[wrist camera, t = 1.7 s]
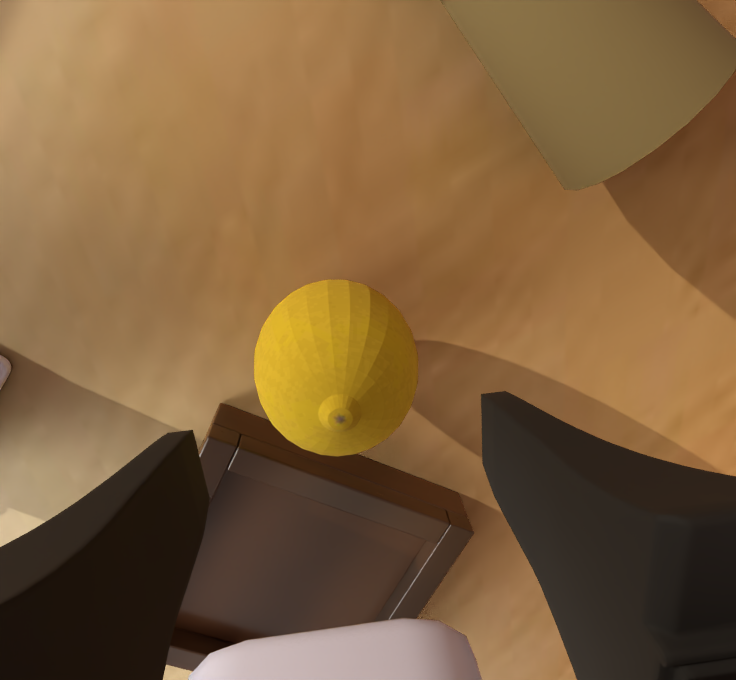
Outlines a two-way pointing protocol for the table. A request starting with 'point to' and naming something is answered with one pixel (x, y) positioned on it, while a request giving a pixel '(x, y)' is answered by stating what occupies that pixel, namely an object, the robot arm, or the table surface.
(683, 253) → the table surface
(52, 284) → the table surface
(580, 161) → the cork
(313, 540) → the tray
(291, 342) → the lemon
